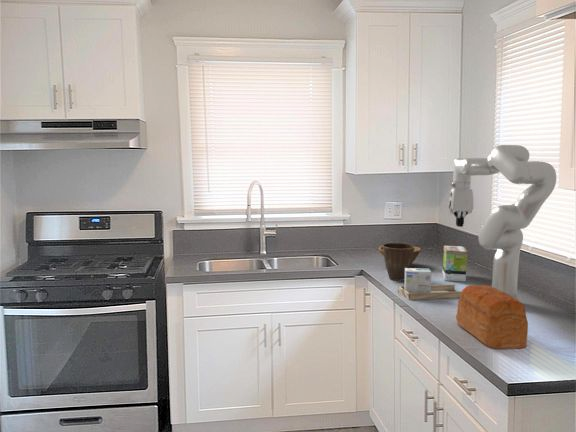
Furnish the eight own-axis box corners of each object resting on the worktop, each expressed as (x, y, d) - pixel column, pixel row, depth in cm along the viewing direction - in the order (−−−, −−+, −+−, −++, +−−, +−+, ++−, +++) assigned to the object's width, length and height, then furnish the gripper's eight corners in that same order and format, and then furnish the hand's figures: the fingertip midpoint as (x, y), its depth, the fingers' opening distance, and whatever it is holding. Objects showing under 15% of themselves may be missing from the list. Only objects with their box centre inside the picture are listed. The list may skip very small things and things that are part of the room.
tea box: (466, 282, 253) (467, 251, 251) (444, 280, 255) (445, 250, 253) (462, 275, 268) (464, 245, 266) (441, 273, 270) (443, 244, 268)
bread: (489, 350, 166) (492, 302, 165) (452, 323, 193) (454, 281, 191) (531, 348, 168) (535, 301, 166) (489, 321, 194) (492, 280, 193)
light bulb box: (428, 292, 232) (429, 268, 231) (430, 296, 226) (432, 271, 224) (403, 291, 234) (404, 267, 232) (404, 295, 227) (405, 270, 226)
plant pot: (418, 281, 253) (419, 248, 251) (388, 282, 250) (389, 249, 248) (405, 274, 267) (406, 242, 266) (377, 275, 264) (377, 243, 263)
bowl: (368, 265, 288) (369, 247, 287) (397, 260, 302) (398, 243, 300) (400, 273, 271) (400, 253, 269) (429, 267, 284) (430, 248, 283)
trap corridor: (467, 297, 226) (467, 291, 226) (408, 299, 222) (409, 293, 222) (453, 289, 238) (454, 284, 238) (397, 292, 234) (398, 286, 234)
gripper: (449, 186, 238) (448, 227, 240) (481, 186, 240) (479, 227, 242) (442, 185, 245) (440, 225, 247) (472, 185, 247) (470, 225, 250)
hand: (459, 226), depth 245 cm, fingers closed
